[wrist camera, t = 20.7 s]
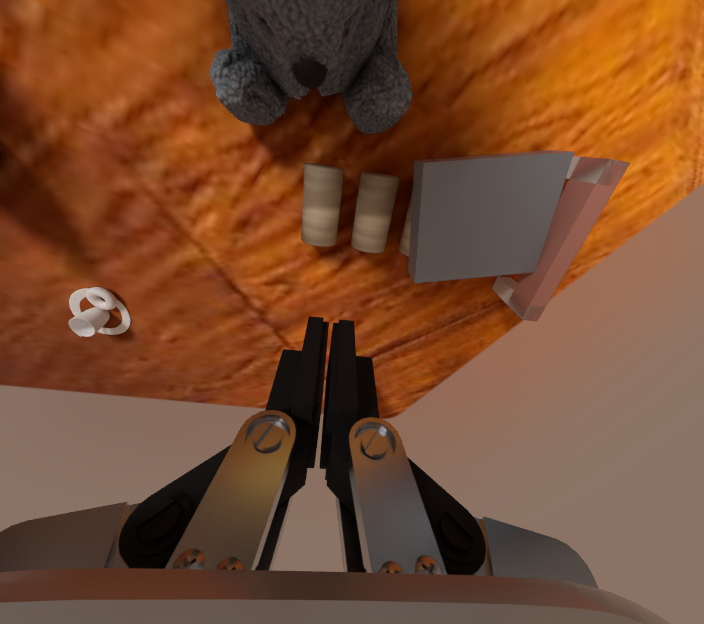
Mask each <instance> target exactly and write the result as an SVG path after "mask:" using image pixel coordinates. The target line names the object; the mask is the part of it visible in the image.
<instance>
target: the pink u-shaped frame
mask: <svg viewBox="0 0 704 624" xmlns="http://www.w3.org/2000/svg"><path fill="white" fill-rule="evenodd" d="M629 164H630V163H629V162H623V161H617V160H611V159H601V158H589V157H577V156H573V158H572V161H571V164H570V167H569V170H568V173H567V176H566V178H567V179H569V181H568V183H567V185H566V187H565V189H564V191H563V193H562V195H561V197H560V199H559V201H558V204H557V207H556V210H555V213H554V216H553V219H552V222H551V225H550V228H549V231H548V234H547V237H546V240H545V243H544V247H543V250H542V253H541V256H540V259H539V262H538V265H537V268H536V271H535V272H532V273H522V275H521V277H520V279H519V281H518V283H516V282H515V281H514V280H513V279H512V278H509V277H501V276H497V278H496V280H495V283H494V285H493V287H492V289H493V290H494V292H495V293H496V294H497V295H498V296H499V297H500V298H501V299H502V300H503V301H504V302H505V303H506V304H507V305H508V306H509V307H510V308H511V309H512V310H513V311H514V312H515V313H516V314H517V315H518V316H519V317H520V318H521V319H522V320H531V321H537V320H538V319H539V317H540V315H541V314H542V312H543V310H544V309H545V307H546V305H547V303H548V302H549V300H550V298H551V297H552V295H553V293H554V292H555V290H556V288H557V286H558V285H559V283H560V281H561V280H562V278H563V276H564V275H565V273H566V271H567V269H568V268H569V266H570V264H571V263H572V261H573V259H574V258H575V256H576V254H577V252H578V251H579V249H580V247H581V246H582V244H583V242H584V241H585V239H586V237H587V235H588V234H589V232H590V230H591V229H592V227H593V225H594V224H595V222H596V220H597V218H598V217H599V215H600V213H601V212H602V210H603V208H604V207H605V205H606V203H607V201H608V200H609V198H610V196H611V195H612V193H613V191H614V190H615V188H616V186H617V184H618V183H619V181H620V179H621V178H622V176H623V174H624V173H625V171H626V169H627V167H628V166H629Z"/></svg>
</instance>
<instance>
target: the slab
mask: <svg viewBox="0 0 704 624" xmlns="http://www.w3.org/2000/svg"><path fill="white" fill-rule="evenodd" d="M573 155H574V152H570V151H556V150H547V151H534V152H520V153H506V154H492V155H478V156H464V157H451V158H437V159H423V160H414V176H413V193H412V211H411V228H410V245H409V263H408V273H409V275H410V276H411V278H412V280H413V281H414V283H424V282H435V281H446V280H456V279H467V278H478V277H489V276H500V275H510V274H521V273H532V272H535V271H536V268H537V265H538V262H539V259H540V256H541V253H542V250H543V247H544V243H545V240H546V237H547V234H548V231H549V228H550V225H551V222H552V219H553V216H554V213H555V210H556V207H557V204H558V201H559V198H560V195H561V191H562V188H563V185H564V182H565V179H566V176H567V173H568V170H569V167H570V164H571V161H572V158H573Z"/></svg>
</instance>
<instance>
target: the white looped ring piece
mask: <svg viewBox="0 0 704 624" xmlns="http://www.w3.org/2000/svg"><path fill="white" fill-rule="evenodd" d="M84 297H87V299H88V300H89V301H90V302H91V303H92V304H93V305H94V306H96V307H94V308H91V309H88V310H86V311H84V312H82V313H81V311H80V307H79V303H80V301H81V300H82V299H83V298H84ZM100 297H102V298H103V299H104V300H105V301H104V300H102V299H101V298H100ZM69 305H70V309H71V311H72V313H73V314H74V316H75V317H73V318H72V319H70V321H69V326H70V328H71V329H72V330H73V331H74V332H75V333H77V335H78V336H81V337H82V336H85V337H89V336H92V335H94V334H95V333H96V332H99V333H103V334H108V335H116V334H121V333H123V332H125V331H126V330H127V329H128V328H129V326H130V323H131V319H130V315H129V313H128V311H127V309H126V308H125V307H124V305H123V304H122V303H121V302H120V301H118V300H117V299H116V297H115V296H114V295H113V294H112V293H111V292H110V291H108V290H106V289H104V288H100V287H93V288H90V289H80V290H77V291H75V292H74V293H73V294H72V295H71V297H70V300H69ZM115 307H117V308H118V309H119V310H120V312H121V314H122V323H121V324H120V325H119V326H118V327H115V328H103V326H104V325H105V324H106V323H107V321H108V320H109V318H110V314H109V312H108V311H107V310H111V309H114V308H115Z"/></svg>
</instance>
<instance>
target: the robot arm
mask: <svg viewBox="0 0 704 624" xmlns="http://www.w3.org/2000/svg"><path fill="white" fill-rule="evenodd" d="M323 319H324V318H320V317H310V316H309V319H308V324H307V329H306V334H305V339H304V344H303V349H302V351H296V350H285V349H284V350H283V352H282V355H281V359H280V362H279V365H278V369H277V372H276V376H275V379H274V383H273V386H272V390H271V393H270V396H269V400H268V403H267V407H266V410H265V411H262V412H259V413H257V414H255V415H253V416H251V417H250V418H249V419H248V420H246V422H245V423H244V424H243V426H242V427H241V428H240V430H239V432H238V434H237V436H236V438H235V439H234V441H233V443H232V445H230V446H228V447H227V448H225V449H224V450H222V451H220V452H219V453H217V454H216V455H214V456H213V457H211V458H210V459H208V460H207V461H205V462H203V463H202V464H200V465H199V466H197V467H195V468H194V469H192V470H191V471H189V472H187V473H186V474H184V475H183V476H181V477H179V478H178V479H176V480H175V481H173V482H172V483H170V484H168V485H167V486H165V487H164V488H162V489H161V490H159V491H157V492H156V493H154V494H153V495H151V496H150V497H148V498H147V499H146V500H145V501H143V502H142V503H139V504H133V505H129V504H128V502H123V503H118V504H113V505H108V506H102V507H97V508H92V509H86V510H81V511H76V512H70V513H65V514H60V515H55V516H49V517H43V518H38V519H33V520H28V521H24V522H21V523H18V524H16V525H12V526H10V527H9V528H7V529H5V530H3V531H2V532H0V624H671V623H669V622H668V621H666V620H664V619H663V618H661V617H660V616H658V615H656V614H655V613H653V612H651V611H649V610H647V609H645V608H643V607H642V606H640V605H638V604H636V603H634V602H632V601H630V600H627V599H625V598H623V597H620V596H618V595H616V594H613V593H611V592H608V591H605V590H601V589H598V586H597V584H596V582H595V579H594V577H593V575H592V573H591V571H590V570H589V568H588V566H587V564H586V563H585V562H584V560H583V559H582V558H581V557H580V556H579V554H578V553H577V552H576V551H574V550H573V549H572V548H571V547H570V546H568V545H567V544H566V543H564V542H562V541H560V540H557V539H555V538H552V537H549V536H546V535H542V534H539V533H536V532H533V531H529V530H526V529H523V528H520V527H516V526H513V525H510V524H507V523H503V522H500V521H497V520H494V519H491V518H487V517H483V518H482V519H478V518H475V517H473V516H472V515H471V514H470V513H469V512H468V510H467V509H465V508H464V507H463V506H462V505H461V504H460V503H459V502H458V501H456V500H455V499H454V498H453V497H452V496H451V495H450V494H449V493H447V492H446V491H445V490H444V489H443V488H442V487H441V486H439V485H438V484H437V483H436V482H435V481H434V480H433V479H432V478H430V477H429V476H428V475H427V474H426V473H425V472H424V471H423V470H421V469H420V468H419V467H418V466H417V465H416V464H415V463H413V462H412V461H411V460H410V459H409V458H408V457H407V455H406V452H405V449H404V446H403V443H402V440H401V438H400V436H399V434H398V432H397V430H396V429H395V428H394V427H393V426H392V425H391V424H389V423H388V422H386V421H385V420H382V419H379V411H378V403H377V395H376V387H375V378H374V370H373V362H372V358H371V357H361V356H356V350H355V330H354V321H349V320H339V323H333V330H332V338H331V346H330V354H329V362H328V370H327V378H326V390H325V403H324V417H323V430H322V443H321V455H320V469H321V468H322V469H326V477H325V480H327V486H328V487H329V489H330V490H331V491H332V492H333V493H334V494H335V496H336V506H337V516H338V525H339V534H340V543H341V552H342V561H343V570H344V572H311V571H310V572H309V571H272V567H273V564H274V560H275V557H276V553H277V549H278V547H279V543H280V540H281V536H282V533H283V529H284V525H285V522H286V519H287V515H288V512H289V508H290V505H291V501H292V496H293V495H294V494H295V493H296V492H297V491H298V490H299V489H300V488H302V487H303V486H304V485H305V480H306V474H307V468H314V465H315V457H316V448H317V440H318V432H319V423H320V415H321V407H322V396H323V385H324V373H325V362H326V350H327V339H328V327H329V322H323Z"/></svg>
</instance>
